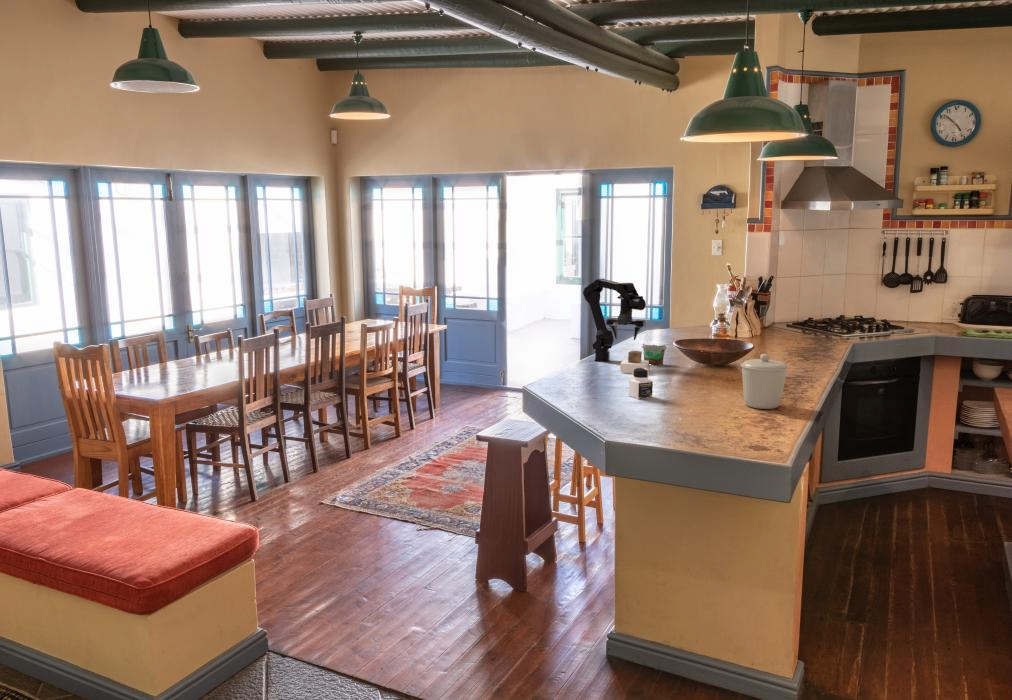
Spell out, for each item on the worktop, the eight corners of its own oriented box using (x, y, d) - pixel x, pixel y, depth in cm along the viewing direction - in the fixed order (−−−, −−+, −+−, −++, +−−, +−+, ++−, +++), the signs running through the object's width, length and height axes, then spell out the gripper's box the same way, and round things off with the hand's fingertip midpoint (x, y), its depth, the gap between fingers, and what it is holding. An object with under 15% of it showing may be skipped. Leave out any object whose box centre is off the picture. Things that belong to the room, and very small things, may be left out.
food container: (638, 364, 400) (638, 344, 398) (642, 362, 405) (642, 342, 404) (662, 366, 394) (662, 346, 393) (665, 364, 400) (666, 344, 398)
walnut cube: (628, 362, 380) (628, 352, 379) (631, 360, 385) (631, 350, 384) (638, 363, 378) (638, 352, 377) (641, 361, 383) (641, 351, 382)
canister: (779, 414, 302) (783, 359, 298) (732, 408, 311) (735, 355, 308) (790, 404, 317) (794, 352, 313) (745, 399, 326) (748, 348, 323)
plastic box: (620, 374, 378) (620, 363, 377) (623, 369, 389) (624, 359, 389) (645, 375, 375) (645, 365, 374) (648, 370, 386) (648, 360, 385)
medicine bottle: (638, 399, 325) (639, 370, 323) (628, 396, 331) (628, 367, 329) (652, 397, 328) (653, 369, 326) (641, 394, 334) (642, 366, 332)
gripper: (603, 309, 388) (602, 340, 391) (641, 311, 381) (640, 343, 384) (609, 306, 399) (608, 337, 401) (646, 308, 392) (645, 339, 394)
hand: (625, 339), depth 395 cm, fingers open, 9 cm apart
